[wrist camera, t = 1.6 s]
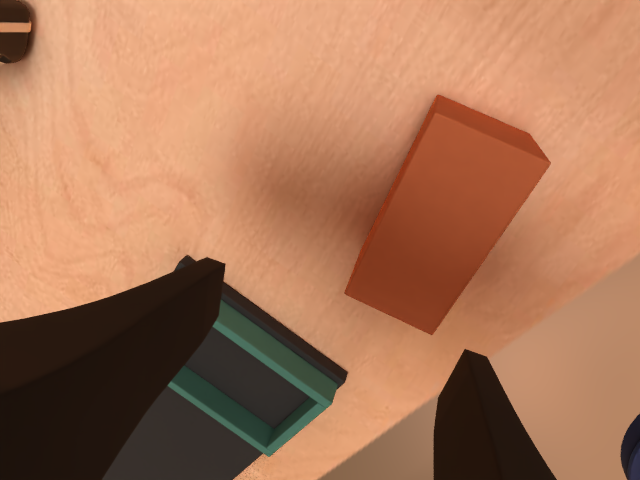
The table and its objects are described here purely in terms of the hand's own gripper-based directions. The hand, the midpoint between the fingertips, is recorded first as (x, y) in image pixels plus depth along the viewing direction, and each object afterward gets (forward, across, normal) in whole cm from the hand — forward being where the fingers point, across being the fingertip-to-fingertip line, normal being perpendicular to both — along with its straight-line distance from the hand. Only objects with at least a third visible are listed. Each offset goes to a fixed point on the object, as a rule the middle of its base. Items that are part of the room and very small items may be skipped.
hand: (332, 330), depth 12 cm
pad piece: (+9, -2, -2) cm, 9 cm away
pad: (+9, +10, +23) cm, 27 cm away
